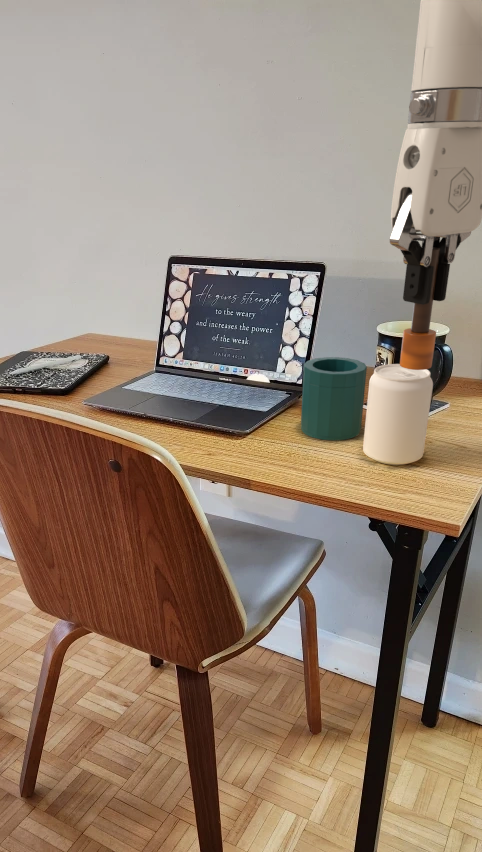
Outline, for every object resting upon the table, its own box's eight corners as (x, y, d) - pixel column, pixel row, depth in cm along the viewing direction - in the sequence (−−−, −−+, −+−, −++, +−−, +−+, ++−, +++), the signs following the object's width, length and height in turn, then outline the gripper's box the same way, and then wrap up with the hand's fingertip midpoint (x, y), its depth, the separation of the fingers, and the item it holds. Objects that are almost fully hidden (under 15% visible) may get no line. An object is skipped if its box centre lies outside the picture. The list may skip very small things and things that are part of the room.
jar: (366, 423, 106) (372, 360, 102) (352, 444, 99) (358, 376, 95) (310, 416, 110) (314, 354, 105) (293, 435, 103) (296, 370, 98)
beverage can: (391, 440, 100) (400, 359, 95) (435, 458, 94) (448, 373, 89) (350, 452, 96) (357, 369, 91) (393, 472, 90) (404, 384, 85)
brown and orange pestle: (433, 363, 81) (449, 246, 75) (429, 371, 78) (445, 250, 72) (402, 360, 83) (415, 245, 77) (397, 368, 80) (410, 249, 74)
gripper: (427, 109, 62) (403, 316, 70) (527, 111, 70) (495, 296, 78) (364, 113, 67) (349, 305, 76) (464, 115, 75) (440, 287, 84)
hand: (423, 299), depth 77 cm, fingers closed on brown and orange pestle, 2 cm apart
